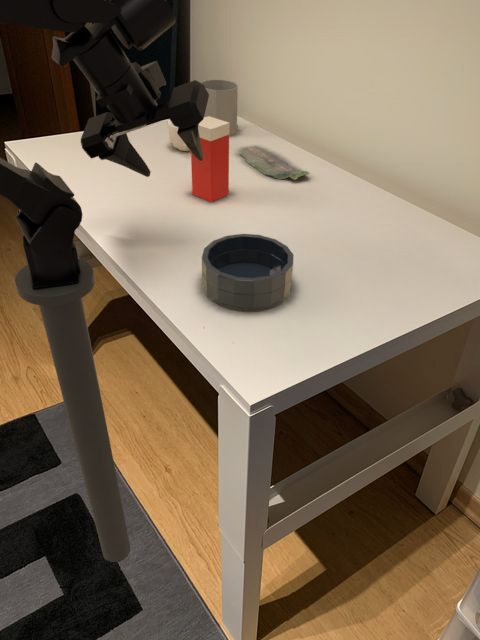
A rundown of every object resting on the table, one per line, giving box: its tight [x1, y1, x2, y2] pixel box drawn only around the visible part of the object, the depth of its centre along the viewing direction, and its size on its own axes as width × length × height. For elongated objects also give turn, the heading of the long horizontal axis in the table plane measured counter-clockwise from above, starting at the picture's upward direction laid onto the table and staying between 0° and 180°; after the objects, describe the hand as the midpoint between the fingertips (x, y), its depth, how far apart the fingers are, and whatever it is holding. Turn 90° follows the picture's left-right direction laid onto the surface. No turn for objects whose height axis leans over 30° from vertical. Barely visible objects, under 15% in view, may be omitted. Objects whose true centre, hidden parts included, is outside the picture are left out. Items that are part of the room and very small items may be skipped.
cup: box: [200, 79, 239, 137], centre depth 126 cm, size 8×8×10 cm
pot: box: [201, 233, 294, 313], centre depth 78 cm, size 13×13×5 cm
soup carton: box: [190, 116, 230, 203], centre depth 99 cm, size 5×5×13 cm
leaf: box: [239, 146, 311, 180], centre depth 115 cm, size 20×8×1 cm, turn 32°
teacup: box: [167, 118, 191, 152], centre depth 118 cm, size 10×8×5 cm
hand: (175, 167), depth 82 cm, fingers open, 9 cm apart
